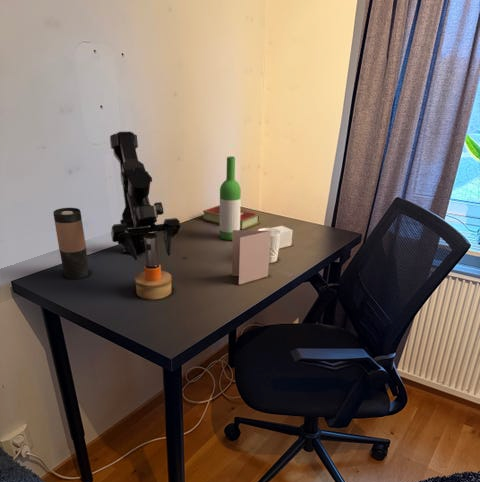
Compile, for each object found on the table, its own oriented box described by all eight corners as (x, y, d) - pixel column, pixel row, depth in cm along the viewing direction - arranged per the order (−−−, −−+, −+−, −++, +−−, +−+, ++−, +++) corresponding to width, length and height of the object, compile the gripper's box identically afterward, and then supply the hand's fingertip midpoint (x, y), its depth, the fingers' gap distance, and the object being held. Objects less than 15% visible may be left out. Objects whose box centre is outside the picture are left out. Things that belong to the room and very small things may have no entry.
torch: (148, 273, 129) (145, 231, 123) (163, 274, 129) (161, 232, 123) (142, 279, 125) (139, 236, 119) (158, 281, 125) (155, 238, 119)
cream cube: (281, 240, 170) (282, 225, 167) (291, 245, 166) (292, 230, 163) (268, 243, 167) (269, 228, 164) (279, 248, 162) (280, 232, 160)
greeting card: (267, 274, 141) (270, 229, 134) (269, 285, 135) (272, 238, 128) (231, 274, 141) (232, 229, 134) (232, 284, 134) (233, 237, 127)
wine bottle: (243, 236, 172) (246, 156, 158) (232, 242, 167) (234, 160, 152) (226, 232, 176) (227, 154, 162) (215, 238, 170) (215, 157, 156)
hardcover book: (220, 213, 199) (220, 204, 197) (258, 223, 188) (259, 213, 186) (202, 219, 190) (202, 210, 188) (242, 230, 179) (242, 220, 177)
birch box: (129, 295, 126) (127, 281, 124) (148, 281, 135) (146, 267, 133) (161, 302, 123) (160, 287, 121) (178, 287, 132) (177, 273, 130)
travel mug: (94, 271, 140) (86, 209, 131) (79, 280, 134) (69, 216, 124) (74, 267, 142) (64, 206, 133) (58, 276, 136) (46, 213, 126)
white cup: (272, 265, 148) (274, 237, 143) (251, 260, 152) (253, 232, 147) (282, 258, 154) (285, 230, 149) (263, 253, 158) (264, 226, 153)
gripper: (108, 195, 115) (121, 249, 112) (177, 189, 122) (191, 240, 119) (106, 216, 125) (118, 266, 122) (170, 209, 132) (183, 257, 129)
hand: (153, 257), depth 122 cm, fingers open, 9 cm apart
